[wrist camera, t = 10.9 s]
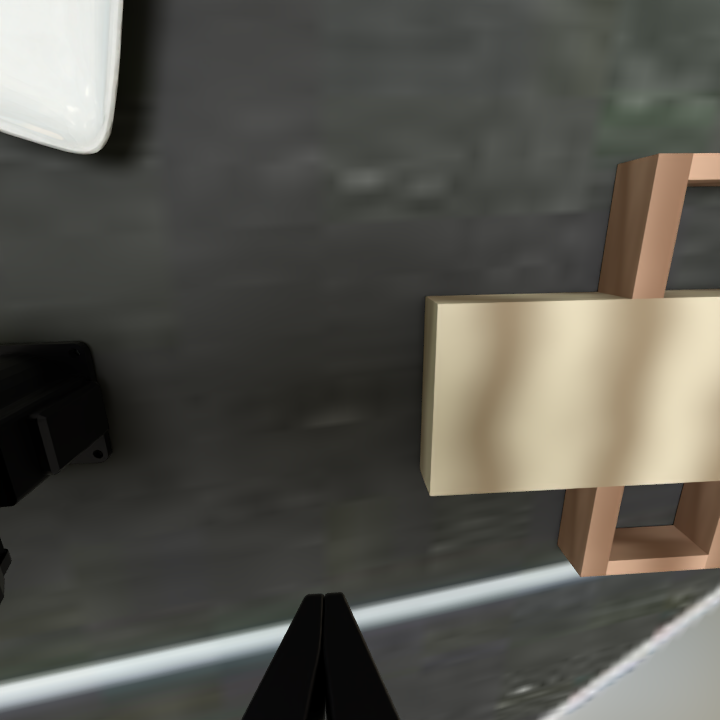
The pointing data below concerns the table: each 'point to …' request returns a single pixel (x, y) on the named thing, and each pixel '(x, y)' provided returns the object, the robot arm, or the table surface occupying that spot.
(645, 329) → the track
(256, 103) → the table surface
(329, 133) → the table surface
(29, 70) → the salad plate
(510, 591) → the table surface
